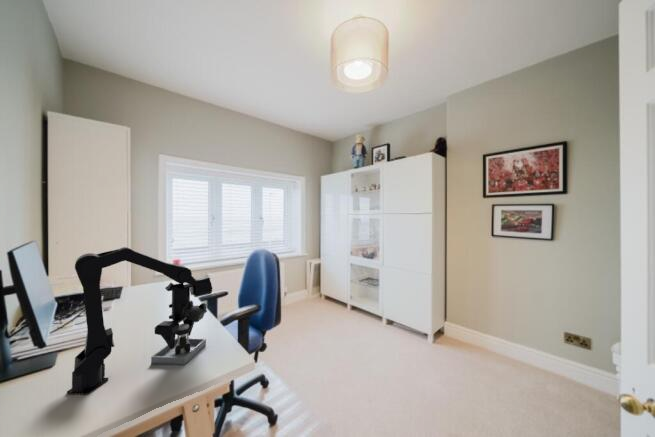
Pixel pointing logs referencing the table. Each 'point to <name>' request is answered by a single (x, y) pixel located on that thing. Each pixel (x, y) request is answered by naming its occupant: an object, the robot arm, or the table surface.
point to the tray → (178, 359)
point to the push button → (182, 339)
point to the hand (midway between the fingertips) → (180, 341)
